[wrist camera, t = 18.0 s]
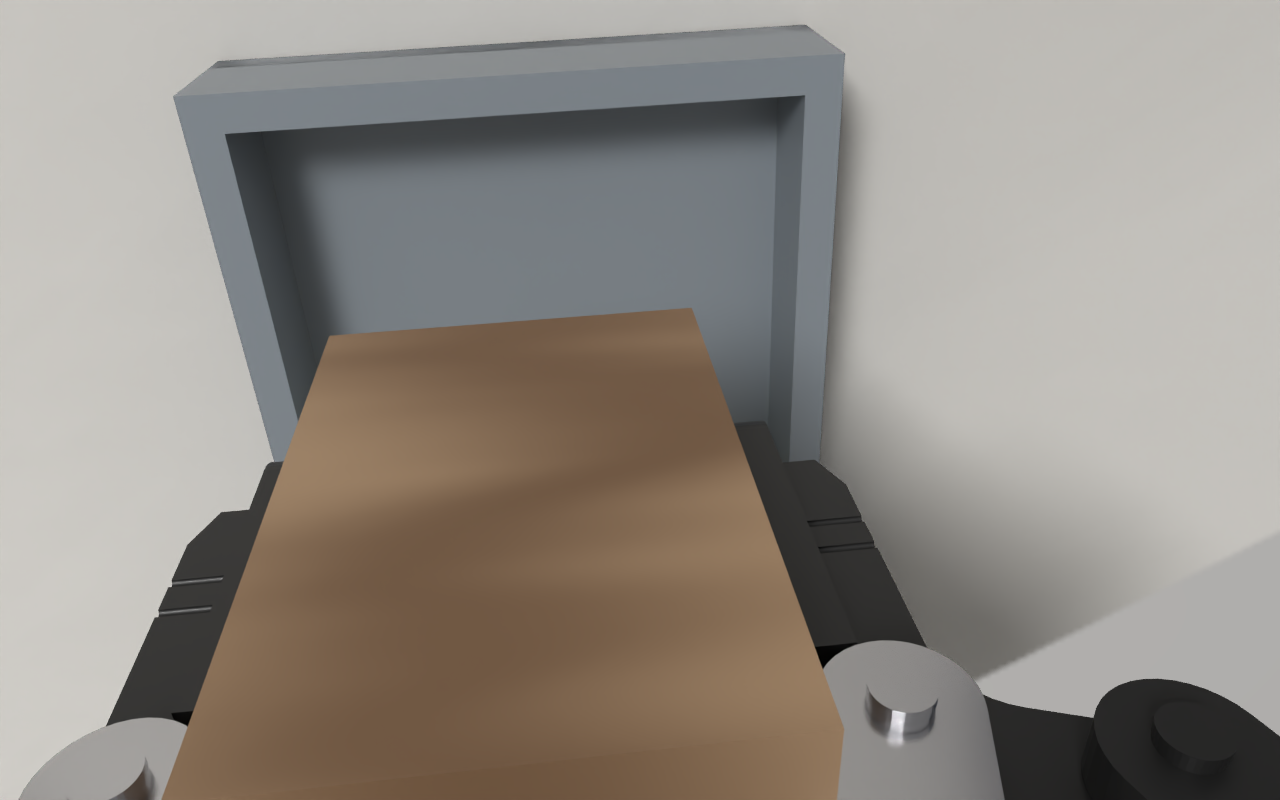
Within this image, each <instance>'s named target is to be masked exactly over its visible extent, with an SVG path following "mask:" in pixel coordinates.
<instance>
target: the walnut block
mask: <svg viewBox="0 0 1280 800" xmlns="http://www.w3.org/2000/svg"><path fill="white" fill-rule="evenodd" d="M843 737H844V727H843V724H842V721H841V718H840V716H839V713H838V710H837V707H836V705H835V702H834V699H833V696H832V694H831V691H830V688H829V685H828V683H827V680H826V677H825V674H824V672H823V669H822V666H821V663H820V660H819V658H818V655H817V652H816V649H815V647H814V644H813V641H812V638H811V636H810V633H809V630H808V627H807V625H806V622H805V619H804V616H803V614H802V611H801V608H800V605H799V602H798V600H797V597H796V594H795V591H794V589H793V586H792V583H791V580H790V578H789V575H788V572H787V569H786V567H785V564H784V561H783V558H782V556H781V553H780V550H779V547H778V544H777V542H776V539H775V536H774V533H773V531H772V528H771V525H770V522H769V520H768V517H767V514H766V511H765V509H764V506H763V503H762V500H761V498H760V495H759V492H758V489H757V486H756V484H755V481H754V478H753V475H752V473H751V470H750V467H749V464H748V462H747V459H746V456H745V453H744V451H743V448H742V445H741V442H740V440H739V437H738V434H737V431H736V428H735V426H734V423H733V420H732V417H731V415H730V412H729V409H728V406H727V404H726V401H725V398H724V395H723V393H722V390H721V387H720V384H719V382H718V379H717V376H716V373H715V370H714V368H713V365H712V362H711V359H710V357H709V354H708V351H707V348H706V346H705V343H704V340H703V337H702V335H701V332H700V329H699V326H698V324H697V321H696V318H695V315H694V312H693V310H692V308H682V309H669V310H656V311H643V312H630V313H617V314H604V315H591V316H578V317H565V318H552V319H540V320H527V321H514V322H501V323H488V324H475V325H462V326H449V327H436V328H423V329H410V330H397V331H384V332H371V333H358V334H345V335H333V336H329V338H328V341H327V343H326V346H325V349H324V352H323V355H322V357H321V360H320V363H319V366H318V368H317V371H316V374H315V377H314V379H313V382H312V385H311V388H310V390H309V393H308V396H307V399H306V401H305V404H304V407H303V410H302V413H301V415H300V418H299V421H298V424H297V426H296V429H295V432H294V435H293V437H292V440H291V443H290V446H289V448H288V451H287V454H286V457H285V459H284V462H283V465H282V468H281V471H280V473H279V476H278V479H277V482H276V484H275V487H274V490H273V493H272V495H271V498H270V501H269V504H268V506H267V509H266V512H265V515H264V517H263V520H262V523H261V526H260V529H259V531H258V534H257V537H256V540H255V542H254V545H253V548H252V551H251V553H250V556H249V559H248V562H247V564H246V567H245V570H244V573H243V576H242V578H241V581H240V584H239V587H238V589H237V592H236V595H235V598H234V600H233V603H232V606H231V609H230V611H229V614H228V617H227V620H226V622H225V625H224V628H223V631H222V634H221V636H220V639H219V642H218V645H217V647H216V650H215V653H214V656H213V658H212V661H211V664H210V667H209V669H208V672H207V675H206V678H205V680H204V683H203V686H202V689H201V692H200V694H199V697H198V700H197V703H196V705H195V708H194V711H193V714H192V716H191V719H190V722H189V725H188V727H187V730H186V733H185V736H184V738H183V741H182V744H181V747H180V750H179V752H178V755H177V758H176V761H175V763H174V766H173V769H172V772H171V774H170V777H169V780H168V783H167V785H166V788H165V791H164V794H163V797H162V799H161V800H837V794H838V785H839V775H840V766H841V756H842V746H843Z"/></svg>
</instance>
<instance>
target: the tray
mask: <svg viewBox="0 0 1280 800" xmlns="http://www.w3.org/2000/svg"><path fill="white" fill-rule="evenodd" d="M844 60H845V53H844V52H842V51H841V50H839V49H838V48H837V47H835V46H834V45H833V44H831V43H830V42H829V41H827V40H826V39H824V38H823V37H822V36H820V35H819V34H818V33H816V32H815V31H814V30H812V29H811V28H809V27H808V26H807V25H795V26H779V27H763V28H747V29H731V30H715V31H698V32H682V33H666V34H650V35H634V36H618V37H602V38H585V39H569V40H553V41H537V42H521V43H505V44H489V45H472V46H456V47H440V48H424V49H408V50H392V51H375V52H359V53H343V54H327V55H311V56H295V57H279V58H262V59H246V60H230V61H218V62H216V63H215V64H214V65H213V66H211V67H210V68H209V69H208V70H206V71H205V72H204V73H202V74H201V75H200V76H199V77H197V78H196V79H195V80H193V81H192V82H191V83H190V84H188V85H187V86H186V87H185V88H183V89H182V90H181V91H179V92H178V93H177V94H176V95H174V96H173V98H174V101H175V105H176V109H177V112H178V116H179V119H180V123H181V127H182V130H183V134H184V138H185V141H186V145H187V148H188V152H189V156H190V159H191V163H192V166H193V170H194V174H195V177H196V181H197V184H198V188H199V192H200V195H201V199H202V202H203V206H204V210H205V213H206V217H207V221H208V224H209V228H210V231H211V235H212V239H213V242H214V246H215V249H216V253H217V257H218V260H219V264H220V267H221V271H222V275H223V278H224V282H225V285H226V289H227V293H228V296H229V300H230V303H231V307H232V311H233V314H234V318H235V322H236V325H237V329H238V332H239V336H240V340H241V343H242V347H243V350H244V354H245V358H246V361H247V365H248V368H249V372H250V376H251V379H252V383H253V386H254V390H255V394H256V397H257V401H258V405H259V408H260V412H261V415H262V419H263V423H264V426H265V430H266V433H267V437H268V441H269V444H270V448H271V451H272V455H273V459H274V462H281V461H284V459H285V457H286V454H287V451H288V448H289V446H290V443H291V440H292V437H293V435H294V432H295V429H296V426H297V424H298V421H299V418H300V415H301V413H302V410H303V407H304V404H305V401H306V399H307V396H308V393H309V390H310V388H311V385H312V382H313V379H314V377H315V374H316V371H317V368H318V366H319V363H320V360H321V357H322V355H323V352H324V349H325V346H326V343H327V341H328V338H329V336H333V335H345V334H358V333H371V332H384V331H397V330H410V329H423V328H436V327H449V326H462V325H475V324H488V323H501V322H514V321H527V320H540V319H552V318H565V317H578V316H591V315H604V314H617V313H630V312H643V311H656V310H669V309H682V308H692V310H693V312H694V315H695V318H696V321H697V324H698V326H699V329H700V332H701V335H702V337H703V340H704V343H705V346H706V348H707V351H708V354H709V357H710V359H711V362H712V365H713V368H714V370H715V373H716V376H717V379H718V382H719V384H720V387H721V390H722V393H723V395H724V398H725V401H726V404H727V406H728V409H729V412H730V415H731V417H732V420H733V423H739V422H750V421H762V420H763V421H765V423H766V424H767V426H768V428H769V431H770V433H771V436H772V438H773V440H774V443H775V445H776V448H777V450H778V452H779V455H780V457H781V460H782V462H794V461H805V460H816V461H817V462H818V463H819V459H820V443H821V427H822V411H823V395H824V380H825V364H826V348H827V332H828V316H829V300H830V284H831V268H832V252H833V236H834V220H835V204H836V188H837V172H838V156H839V140H840V124H841V108H842V92H843V76H844Z"/></svg>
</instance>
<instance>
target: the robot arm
mask: <svg viewBox="0 0 1280 800" xmlns="http://www.w3.org/2000/svg"><path fill="white" fill-rule="evenodd" d="M734 426H735V428H736V431H737V434H738V437H739V440H740V442H741V445H742V448H743V451H744V453H745V456H746V459H747V462H748V464H749V467H750V470H751V473H752V475H753V478H754V481H755V484H756V486H757V489H758V492H759V495H760V498H761V500H762V503H763V506H764V509H765V511H766V514H767V517H768V520H769V522H770V525H771V528H772V531H773V533H774V536H775V539H776V542H777V544H778V547H779V550H780V553H781V556H782V558H783V561H784V564H785V567H786V569H787V572H788V575H789V578H790V580H791V583H792V586H793V589H794V591H795V594H796V597H797V600H798V602H799V605H800V608H801V611H802V614H803V616H804V619H805V622H806V625H807V627H808V630H809V633H810V636H811V638H812V641H813V644H814V647H815V649H816V652H817V655H818V658H819V660H820V663H821V666H822V669H823V672H824V674H825V677H826V680H827V683H828V685H829V688H830V691H831V694H832V696H833V699H834V702H835V705H836V707H837V710H838V713H839V716H840V718H841V721H842V724H843V727H844V737H843V746H842V756H841V766H840V775H839V785H838V794H837V800H1280V736H1279V735H1277V734H1276V733H1275V732H1273V731H1272V730H1271V729H1269V728H1268V727H1267V726H1265V725H1264V724H1263V723H1262V722H1260V721H1259V720H1258V719H1256V718H1255V717H1254V716H1253V715H1251V714H1250V713H1248V712H1247V711H1246V710H1244V709H1243V708H1241V707H1240V706H1238V705H1237V704H1235V703H1233V702H1231V701H1229V700H1228V699H1226V698H1224V697H1222V696H1220V695H1218V694H1216V693H1213V692H1211V691H1209V690H1206V689H1204V688H1200V687H1198V686H1194V685H1191V684H1187V683H1183V682H1178V681H1173V680H1164V679H1142V680H1135V681H1130V682H1127V683H1124V684H1121V685H1119V686H1117V687H1115V688H1114V689H1112V690H1110V691H1109V692H1108V693H1107V694H1106V695H1105V696H1104V697H1103V698H1102V699H1101V701H1100V702H1099V704H1098V706H1097V708H1096V711H1095V715H1094V718H1090V717H1083V716H1077V715H1070V714H1064V713H1057V712H1051V711H1044V710H1038V709H1031V708H1025V707H1020V706H1015V705H1011V704H1007V703H1004V702H1001V701H998V700H994V699H991V698H989V697H987V696H985V695H983V694H982V692H981V690H980V688H979V687H978V685H977V684H976V683H975V681H974V680H973V679H972V677H971V676H970V675H969V674H968V673H967V672H966V671H965V670H964V669H962V668H961V667H960V666H959V665H958V664H956V663H955V662H953V661H952V660H951V659H949V658H947V657H945V656H944V655H942V654H940V653H938V652H936V651H934V650H931V649H928V648H927V647H926V645H925V643H924V641H923V639H922V637H921V635H920V633H919V631H918V629H917V627H916V625H915V623H914V621H913V619H912V617H911V615H910V613H909V611H908V609H907V607H906V605H905V603H904V601H903V599H902V597H901V595H900V593H899V591H898V589H897V587H896V585H895V583H894V581H893V579H892V577H891V575H890V573H889V571H888V569H887V567H886V565H885V562H884V560H883V558H882V556H881V554H880V552H879V550H878V548H875V547H874V540H873V538H872V536H871V534H870V532H869V530H868V528H867V526H866V524H865V522H862V520H861V514H860V512H859V510H858V508H857V506H856V504H855V502H854V500H853V498H852V496H851V494H850V492H849V490H848V488H847V486H846V484H844V483H843V482H842V481H841V480H839V479H838V478H837V477H836V476H834V475H833V474H832V473H831V472H829V471H828V470H827V469H826V468H824V467H823V466H822V465H821V464H819V463H818V462H817V461H816V460H805V461H794V462H782V460H781V457H780V455H779V452H778V450H777V448H776V445H775V443H774V440H773V438H772V436H771V433H770V431H769V428H768V426H767V424H766V423H765V421H763V420H762V421H750V422H739V423H734ZM283 462H284V461H281V462H271V463H269V464H268V465H267V466H266V468H265V470H264V472H263V475H262V478H261V480H260V483H259V485H258V488H257V491H256V493H255V496H254V498H253V501H252V504H251V506H250V509H249V510H242V511H231V512H221V513H220V514H219V515H218V516H217V517H216V518H215V519H214V520H213V521H212V522H211V523H210V524H209V525H208V526H207V527H206V528H205V529H204V530H202V531H201V532H200V533H199V534H198V535H197V536H196V537H195V538H194V539H193V540H192V541H191V542H190V543H189V544H188V545H187V547H186V550H185V552H184V554H183V556H182V558H181V561H180V563H179V565H178V567H177V570H176V572H175V574H174V576H173V578H172V587H168V590H167V592H166V594H165V596H164V598H163V601H162V603H161V605H160V607H159V610H158V611H159V617H156V618H154V621H153V623H152V625H151V627H150V630H149V632H148V634H147V636H146V638H145V641H144V643H143V645H142V647H141V650H140V652H139V654H138V656H137V658H136V661H135V663H134V665H133V667H132V670H131V672H130V674H129V676H128V678H127V681H126V683H125V685H124V687H123V690H122V692H121V694H120V696H119V698H118V701H117V703H116V705H115V707H114V710H113V712H112V714H111V716H110V718H109V721H108V723H107V725H106V727H103V728H101V729H98V730H96V731H94V732H92V733H90V734H87V735H85V736H84V737H82V738H80V739H78V740H77V741H75V742H73V743H71V744H70V745H68V746H67V747H66V748H64V749H63V750H61V751H60V752H59V753H57V754H56V755H55V756H54V757H53V758H51V759H50V760H49V761H48V762H47V763H46V764H45V765H43V767H42V768H41V769H40V770H39V771H38V772H37V773H36V774H35V775H34V776H33V777H32V779H31V780H30V782H29V783H28V784H27V786H26V787H25V789H24V790H23V792H22V794H21V796H20V798H19V800H161V799H162V797H163V794H164V791H165V788H166V785H167V783H168V780H169V777H170V774H171V772H172V769H173V766H174V763H175V761H176V758H177V755H178V752H179V750H180V747H181V744H182V741H183V738H184V736H185V733H186V730H187V727H188V725H189V722H190V719H191V716H192V714H193V711H194V708H195V705H196V703H197V700H198V697H199V694H200V692H201V689H202V686H203V683H204V680H205V678H206V675H207V672H208V669H209V667H210V664H211V661H212V658H213V656H214V653H215V650H216V647H217V645H218V642H219V639H220V636H221V634H222V631H223V628H224V625H225V622H226V620H227V617H228V614H229V611H230V609H231V606H232V603H233V600H234V598H235V595H236V592H237V589H238V587H239V584H240V581H241V578H242V576H243V573H244V570H245V567H246V564H247V562H248V559H249V556H250V553H251V551H252V548H253V545H254V542H255V540H256V537H257V534H258V531H259V529H260V526H261V523H262V520H263V517H264V515H265V512H266V509H267V506H268V504H269V501H270V498H271V495H272V493H273V490H274V487H275V484H276V482H277V479H278V476H279V473H280V471H281V468H282V465H283Z"/></svg>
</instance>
